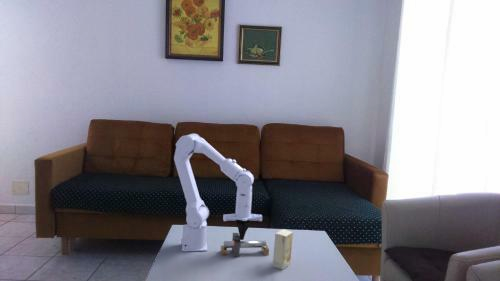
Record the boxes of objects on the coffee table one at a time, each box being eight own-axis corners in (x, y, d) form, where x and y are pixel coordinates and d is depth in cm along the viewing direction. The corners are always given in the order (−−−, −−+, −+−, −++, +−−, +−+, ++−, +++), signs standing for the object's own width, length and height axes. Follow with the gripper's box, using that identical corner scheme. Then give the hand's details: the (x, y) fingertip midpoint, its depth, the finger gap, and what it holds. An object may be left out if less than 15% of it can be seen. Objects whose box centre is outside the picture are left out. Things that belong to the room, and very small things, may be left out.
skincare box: (283, 270, 121) (285, 236, 120) (272, 266, 124) (274, 233, 122) (290, 263, 127) (293, 231, 125) (280, 260, 129) (282, 228, 128)
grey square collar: (233, 256, 129) (234, 239, 128) (231, 249, 135) (232, 232, 134) (239, 256, 129) (240, 239, 129) (237, 249, 136) (237, 232, 135)
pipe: (221, 255, 129) (222, 243, 129) (220, 251, 133) (221, 238, 133) (268, 255, 133) (269, 242, 132) (266, 250, 136) (267, 238, 136)
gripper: (225, 207, 125) (223, 243, 127) (264, 207, 128) (262, 243, 129) (223, 201, 132) (221, 235, 134) (260, 201, 135) (258, 235, 136)
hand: (241, 238), depth 132 cm, fingers closed
